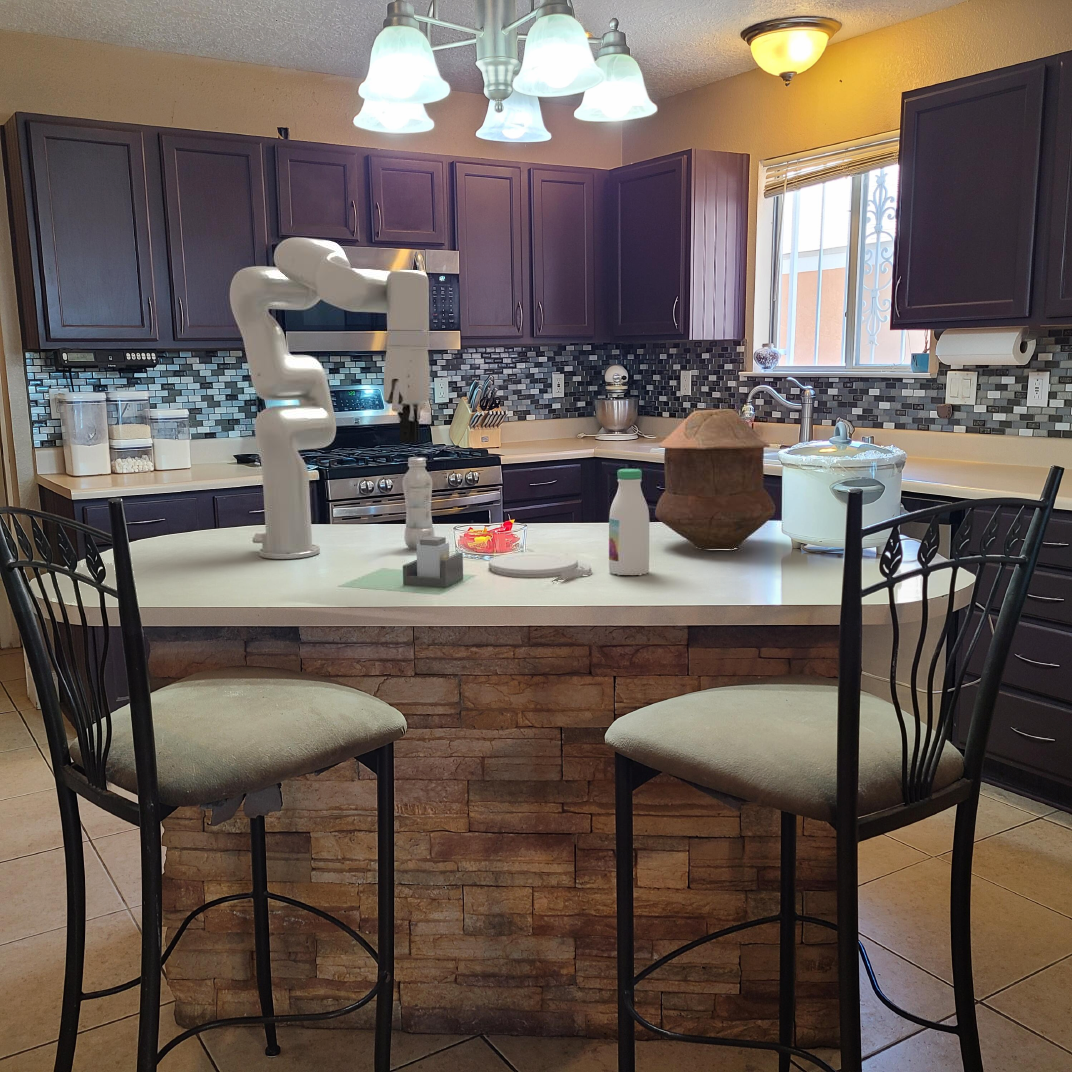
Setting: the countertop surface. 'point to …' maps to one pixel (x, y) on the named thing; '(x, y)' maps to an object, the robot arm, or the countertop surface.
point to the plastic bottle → (417, 502)
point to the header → (449, 577)
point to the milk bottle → (629, 526)
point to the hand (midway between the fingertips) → (409, 442)
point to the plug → (431, 556)
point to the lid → (539, 565)
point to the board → (395, 582)
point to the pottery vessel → (714, 480)
